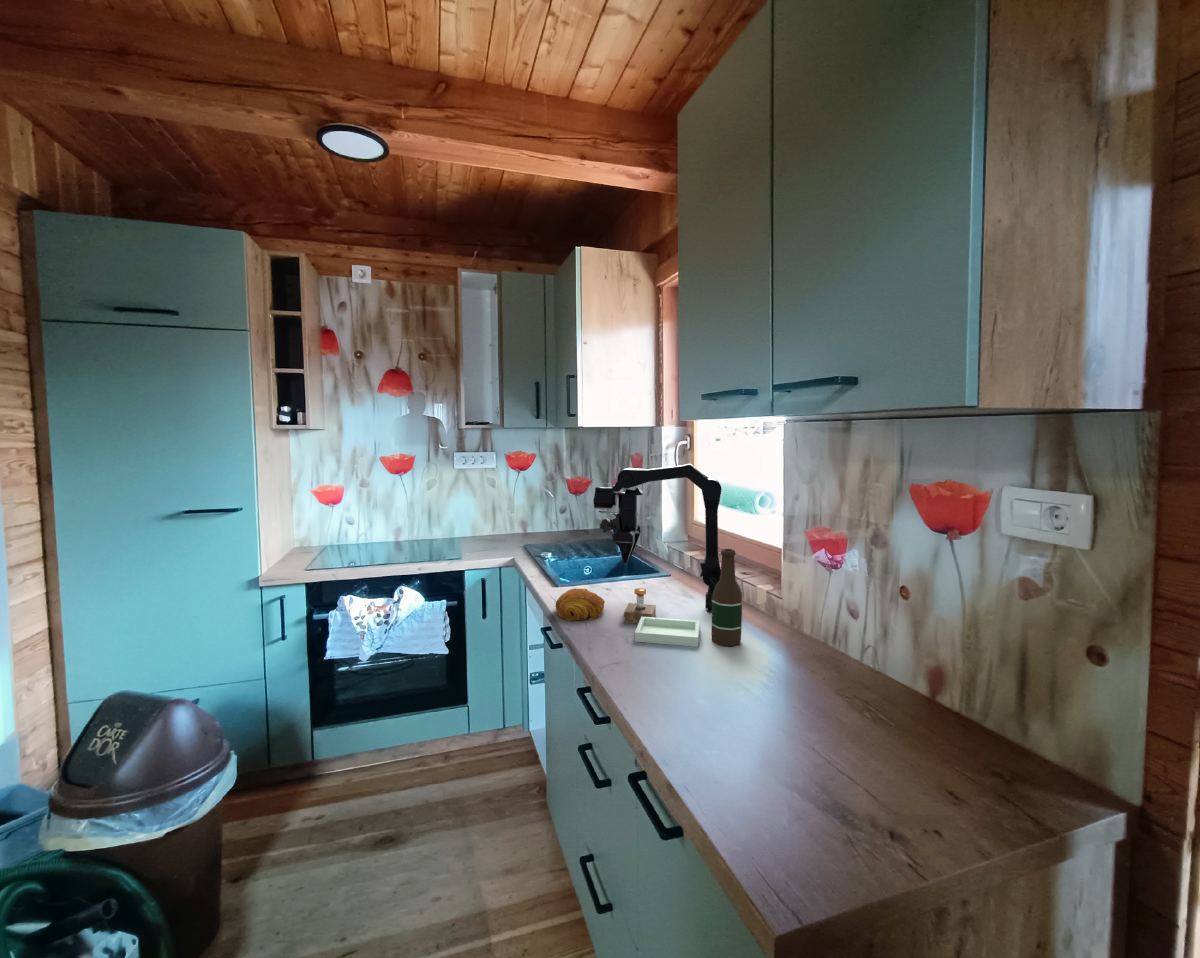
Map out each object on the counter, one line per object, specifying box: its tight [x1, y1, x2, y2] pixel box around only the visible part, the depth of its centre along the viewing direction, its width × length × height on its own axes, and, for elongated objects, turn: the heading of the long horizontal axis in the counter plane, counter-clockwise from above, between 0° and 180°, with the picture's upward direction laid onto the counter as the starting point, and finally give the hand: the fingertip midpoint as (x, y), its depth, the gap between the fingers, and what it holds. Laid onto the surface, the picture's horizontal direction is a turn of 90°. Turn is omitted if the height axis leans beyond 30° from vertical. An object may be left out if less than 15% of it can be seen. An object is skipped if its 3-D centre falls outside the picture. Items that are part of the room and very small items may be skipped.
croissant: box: [554, 588, 605, 621], centre depth 159 cm, size 14×16×8 cm
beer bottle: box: [710, 548, 743, 648], centre depth 137 cm, size 8×8×24 cm
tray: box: [634, 617, 701, 648], centre depth 142 cm, size 16×12×2 cm
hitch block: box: [623, 602, 657, 624], centre depth 155 cm, size 8×8×3 cm
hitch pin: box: [633, 587, 647, 610], centre depth 154 cm, size 3×3×8 cm
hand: (627, 559), depth 166 cm, fingers open, 9 cm apart
